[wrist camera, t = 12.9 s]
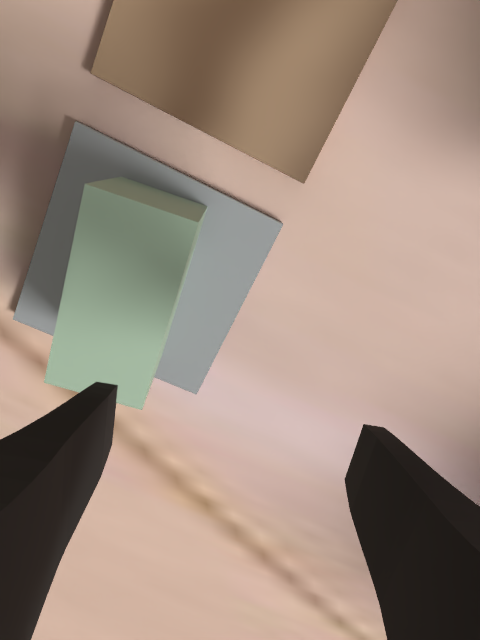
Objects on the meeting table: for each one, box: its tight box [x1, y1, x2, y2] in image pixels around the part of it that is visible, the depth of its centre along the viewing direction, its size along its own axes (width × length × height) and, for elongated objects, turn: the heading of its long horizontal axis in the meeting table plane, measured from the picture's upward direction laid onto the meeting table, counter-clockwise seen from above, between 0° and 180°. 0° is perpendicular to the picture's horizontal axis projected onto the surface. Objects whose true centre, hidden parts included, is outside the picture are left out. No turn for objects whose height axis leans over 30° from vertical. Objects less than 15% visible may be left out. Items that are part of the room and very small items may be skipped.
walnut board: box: [91, 0, 397, 183], centre depth 17 cm, size 10×10×1 cm
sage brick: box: [44, 177, 208, 410], centre depth 18 cm, size 4×8×5 cm, turn 161°
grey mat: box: [13, 121, 283, 394], centre depth 21 cm, size 10×10×1 cm
